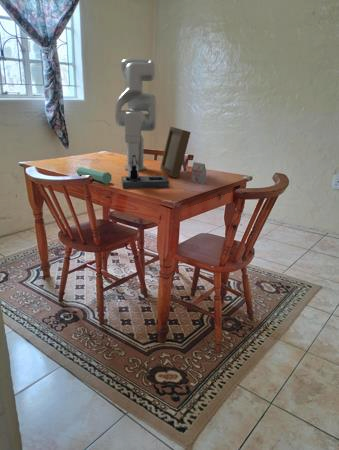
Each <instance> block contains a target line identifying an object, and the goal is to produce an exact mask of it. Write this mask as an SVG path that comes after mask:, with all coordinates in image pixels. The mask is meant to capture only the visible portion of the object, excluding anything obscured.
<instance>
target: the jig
mask: <svg viewBox="0 0 339 450" xmlns="http://www.w3.org/2000/svg"><path fill="white" fill-rule="evenodd" d="M121 186H122V189H151V188H153V189H154V188H155V189H156V188H158V189H161V188H166V189H167V188H170V180H168V178H167V177H166V176H165V175H147V176H146V175H143V176H141V175H139V181H128V175H127V176H121Z"/></svg>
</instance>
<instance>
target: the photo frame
mask: <svg viewBox="0 0 339 450" xmlns="http://www.w3.org/2000/svg"><path fill="white" fill-rule="evenodd" d="M168 130H169V131H168V135H167V139H166V143H165V146H164V152H163V156H162V159H161V164H160V169H161V170H162V172H164V173H166V174H168V175H169V176H171V177H174V178H179V179H180V176H181V171H182V167H183V171H184V173H186V172H187V171H188V170H187V163H186V160H185V156H186V155H185V154H186V152H187V149H188V145H189V140H190V137H191V131H188V130H185V129H181V128H179V127H173V126H169V129H168Z"/></svg>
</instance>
